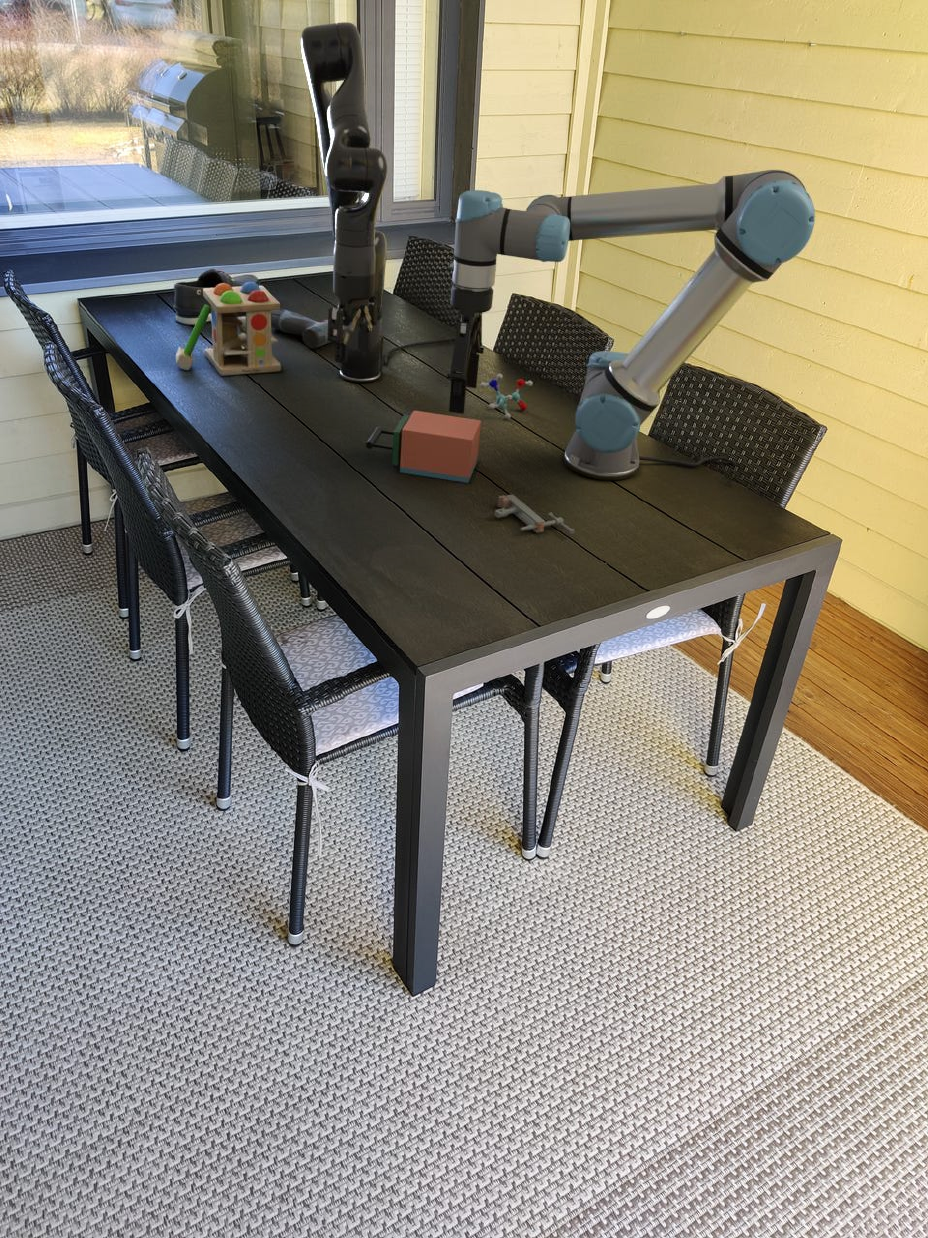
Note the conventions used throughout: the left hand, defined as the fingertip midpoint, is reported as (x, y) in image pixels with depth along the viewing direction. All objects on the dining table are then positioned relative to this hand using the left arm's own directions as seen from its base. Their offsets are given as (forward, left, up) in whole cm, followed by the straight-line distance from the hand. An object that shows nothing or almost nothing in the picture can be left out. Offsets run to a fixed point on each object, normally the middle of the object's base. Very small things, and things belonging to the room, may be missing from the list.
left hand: (352, 356), depth 185 cm
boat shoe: (-47, -82, -20) cm, 96 cm away
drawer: (-5, +12, -19) cm, 23 cm away
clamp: (+1, +42, -20) cm, 47 cm away
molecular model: (-41, +11, -20) cm, 47 cm away
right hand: (-9, +20, -5) cm, 22 cm away
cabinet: (-7, +17, -20) cm, 27 cm away
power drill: (-49, -52, -20) cm, 74 cm away
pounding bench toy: (-18, -51, -20) cm, 58 cm away
